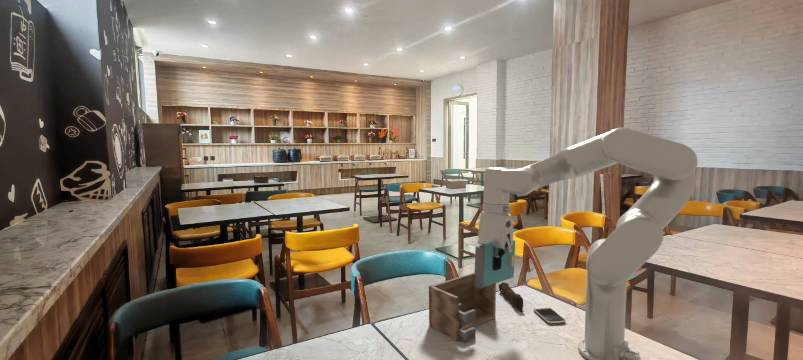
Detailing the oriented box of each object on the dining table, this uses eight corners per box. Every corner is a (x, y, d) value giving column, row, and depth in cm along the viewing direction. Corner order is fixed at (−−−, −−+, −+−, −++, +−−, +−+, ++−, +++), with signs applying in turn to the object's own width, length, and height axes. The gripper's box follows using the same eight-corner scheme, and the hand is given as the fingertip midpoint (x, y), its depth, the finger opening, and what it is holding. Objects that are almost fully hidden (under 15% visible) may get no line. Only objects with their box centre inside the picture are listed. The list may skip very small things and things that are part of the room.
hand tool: (498, 292, 151) (498, 280, 150) (508, 291, 151) (508, 280, 151) (513, 313, 132) (514, 300, 132) (525, 313, 132) (525, 299, 132)
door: (516, 278, 122) (518, 241, 120) (480, 289, 112) (482, 249, 111) (507, 275, 124) (509, 238, 123) (472, 286, 115) (473, 246, 113)
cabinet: (507, 323, 124) (507, 284, 123) (461, 343, 112) (461, 300, 110) (473, 308, 135) (474, 272, 134) (429, 325, 123) (428, 286, 122)
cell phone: (548, 326, 122) (549, 322, 122) (532, 311, 133) (532, 307, 133) (567, 325, 123) (567, 321, 123) (549, 310, 134) (549, 306, 134)
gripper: (526, 211, 111) (522, 273, 113) (483, 203, 124) (481, 259, 126) (509, 214, 107) (506, 278, 109) (467, 205, 120) (465, 263, 122)
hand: (493, 267), depth 117 cm, fingers closed on door, 2 cm apart
